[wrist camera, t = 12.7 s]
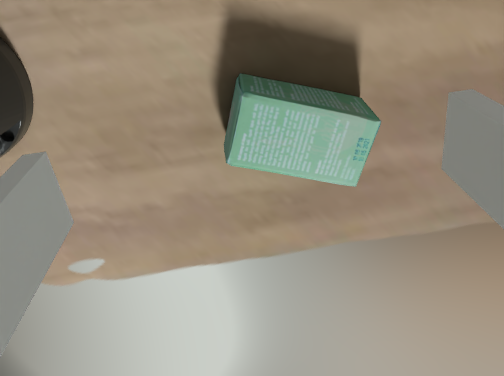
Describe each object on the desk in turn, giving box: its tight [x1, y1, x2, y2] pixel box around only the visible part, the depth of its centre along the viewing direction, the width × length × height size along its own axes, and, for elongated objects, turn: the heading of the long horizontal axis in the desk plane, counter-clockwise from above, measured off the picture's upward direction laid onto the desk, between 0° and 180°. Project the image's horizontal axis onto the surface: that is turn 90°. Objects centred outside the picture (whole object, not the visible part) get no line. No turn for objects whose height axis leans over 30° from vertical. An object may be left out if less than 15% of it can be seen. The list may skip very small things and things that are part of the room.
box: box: [224, 73, 381, 187], centre depth 43 cm, size 7×14×8 cm, turn 78°
